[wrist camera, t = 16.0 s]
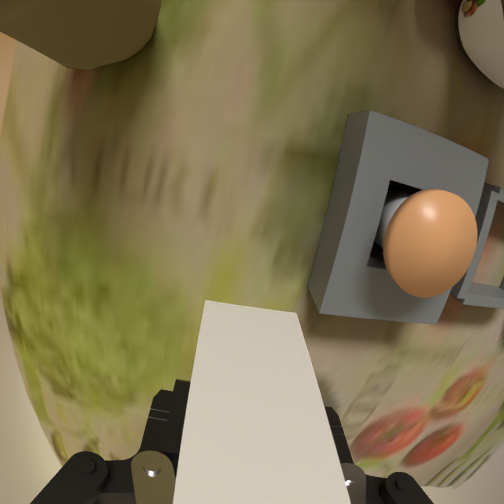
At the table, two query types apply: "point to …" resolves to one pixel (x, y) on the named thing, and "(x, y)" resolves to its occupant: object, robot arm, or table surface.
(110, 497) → the robot arm
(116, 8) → the squeeze bottle
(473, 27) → the spread jar
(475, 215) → the socket blocks
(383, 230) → the tan mushroom peg
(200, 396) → the square rod with knob
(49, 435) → the table surface
